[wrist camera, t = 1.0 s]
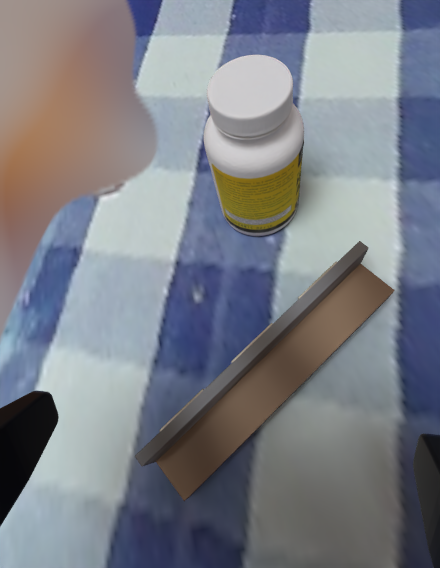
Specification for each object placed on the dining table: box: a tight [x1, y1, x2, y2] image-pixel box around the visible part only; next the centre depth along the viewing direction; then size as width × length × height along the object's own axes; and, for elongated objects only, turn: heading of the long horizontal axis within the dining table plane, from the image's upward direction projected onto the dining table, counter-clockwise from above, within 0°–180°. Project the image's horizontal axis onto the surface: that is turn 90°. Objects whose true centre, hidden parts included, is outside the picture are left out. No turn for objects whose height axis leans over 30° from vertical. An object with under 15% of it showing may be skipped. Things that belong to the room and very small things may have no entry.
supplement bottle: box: [204, 55, 304, 236], centre depth 21 cm, size 5×5×10 cm
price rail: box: [135, 241, 395, 501], centre depth 19 cm, size 16×3×4 cm, turn 132°
